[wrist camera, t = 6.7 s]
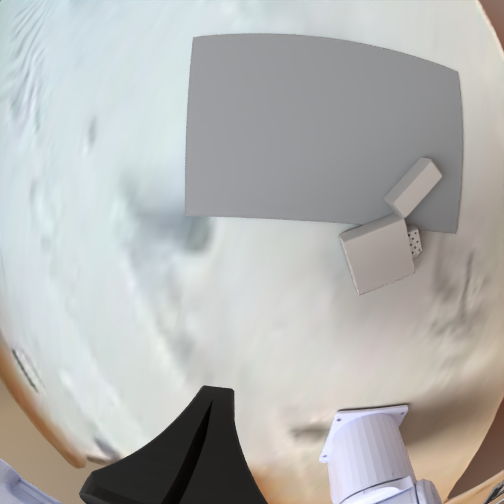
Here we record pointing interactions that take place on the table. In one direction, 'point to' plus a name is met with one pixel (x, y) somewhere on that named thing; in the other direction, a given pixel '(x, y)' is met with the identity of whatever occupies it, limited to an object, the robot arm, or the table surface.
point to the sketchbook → (495, 492)
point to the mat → (317, 130)
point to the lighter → (390, 233)
